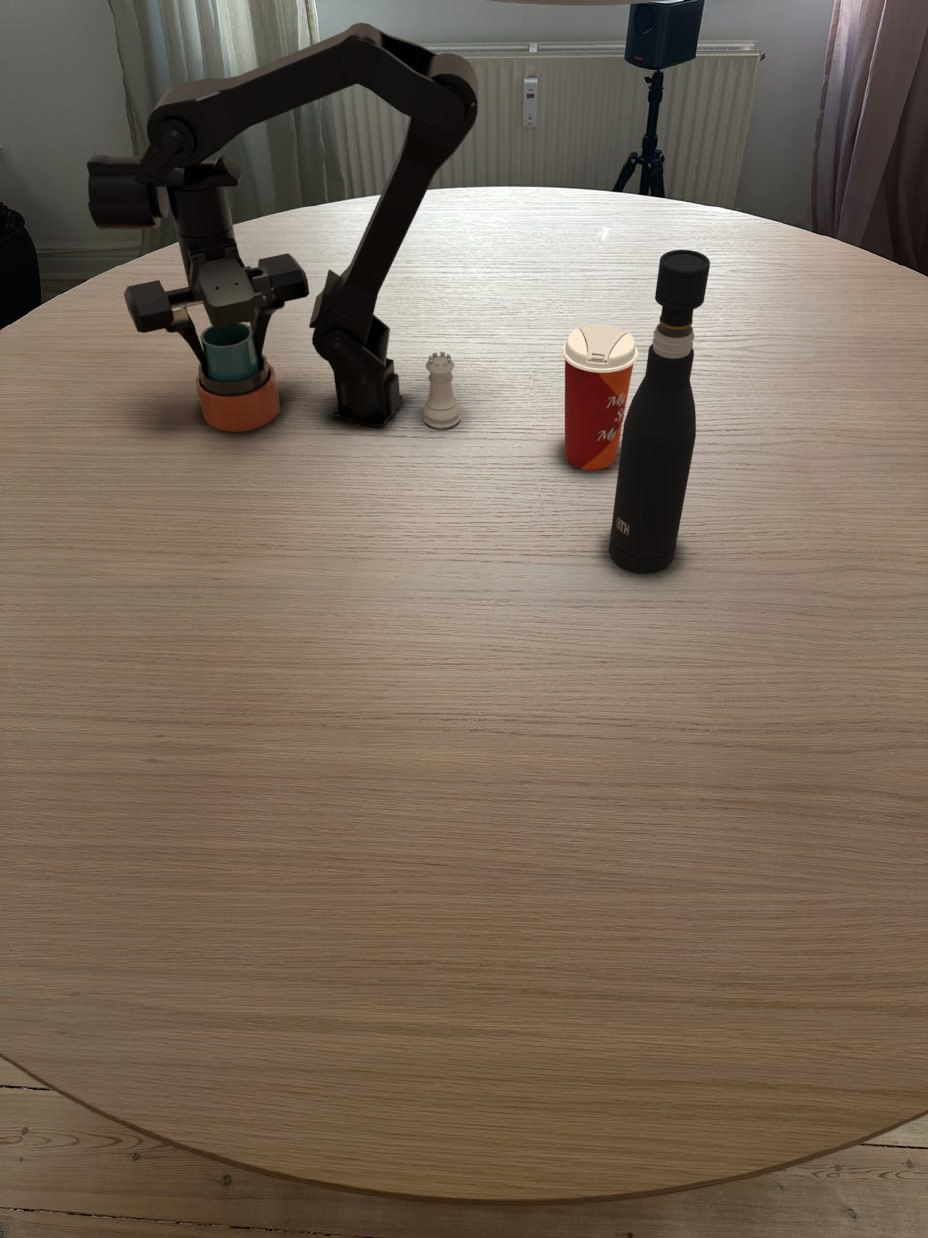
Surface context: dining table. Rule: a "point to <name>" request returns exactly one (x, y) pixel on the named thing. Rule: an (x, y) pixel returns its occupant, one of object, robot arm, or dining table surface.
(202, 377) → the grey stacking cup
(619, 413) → the paper cup
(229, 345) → the teal cup
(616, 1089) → the dining table surface
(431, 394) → the rook chess piece
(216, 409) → the stack base cup
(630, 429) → the black insulated water bottle
